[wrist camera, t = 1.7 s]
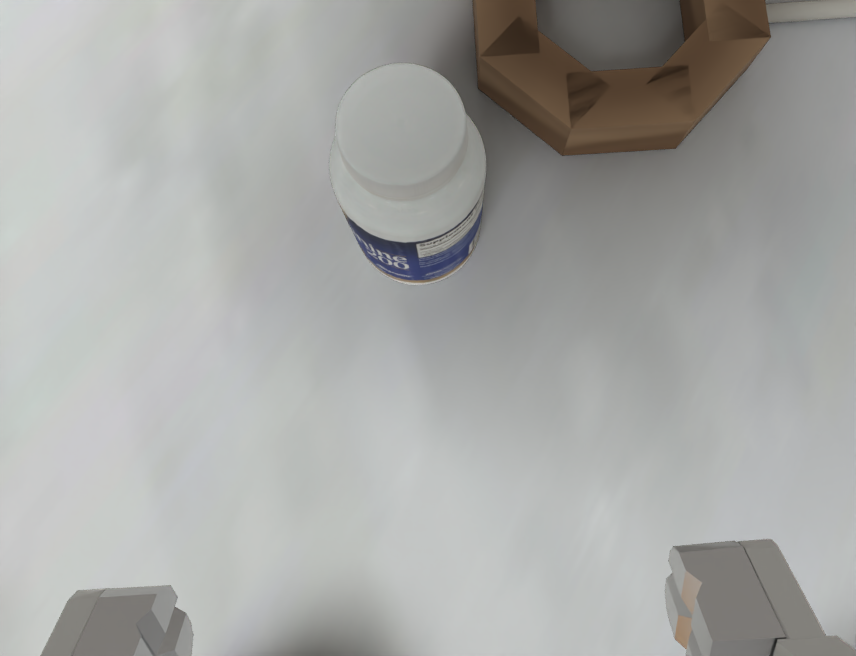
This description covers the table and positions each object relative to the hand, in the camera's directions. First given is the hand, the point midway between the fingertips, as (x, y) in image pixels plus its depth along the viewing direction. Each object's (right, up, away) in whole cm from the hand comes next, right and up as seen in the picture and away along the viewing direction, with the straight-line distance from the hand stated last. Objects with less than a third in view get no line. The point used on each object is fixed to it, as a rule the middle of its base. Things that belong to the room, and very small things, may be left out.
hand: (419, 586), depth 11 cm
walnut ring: (+8, +18, +20) cm, 28 cm away
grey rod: (+19, +18, +20) cm, 33 cm away
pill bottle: (0, +9, +19) cm, 21 cm away
